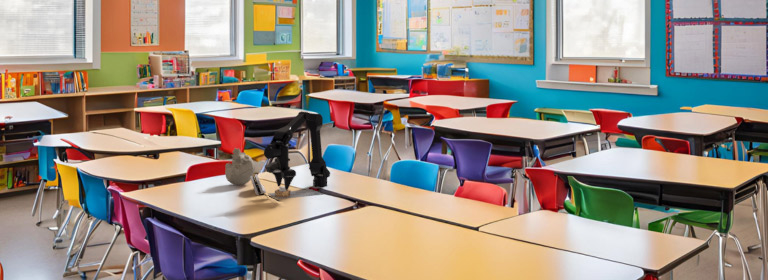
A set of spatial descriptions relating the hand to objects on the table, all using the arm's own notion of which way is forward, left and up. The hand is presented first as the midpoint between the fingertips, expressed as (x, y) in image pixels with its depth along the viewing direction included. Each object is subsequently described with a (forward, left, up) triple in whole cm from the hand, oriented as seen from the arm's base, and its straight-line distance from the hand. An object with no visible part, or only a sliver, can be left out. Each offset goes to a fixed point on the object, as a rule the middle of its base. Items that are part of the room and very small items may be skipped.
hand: (282, 188), depth 349 cm
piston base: (-7, 0, -5) cm, 8 cm away
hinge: (+5, -18, -5) cm, 20 cm away
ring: (0, 0, -4) cm, 4 cm away
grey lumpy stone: (+7, -39, -5) cm, 40 cm away
